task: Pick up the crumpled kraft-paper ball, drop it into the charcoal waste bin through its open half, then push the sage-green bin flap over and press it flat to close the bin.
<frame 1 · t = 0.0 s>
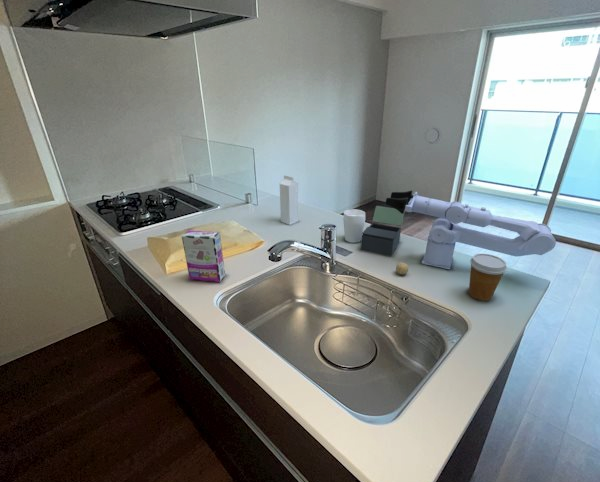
hand: (388, 197, 116), 22 cm above the worktop, tool horizontal, fingers open, 7 cm apart
cup: (352, 239, 136), on the worktop
paper ball: (402, 268, 109), point 2 cm above the worktop
disposable coffee cup: (479, 295, 98), on the worktop
bin: (380, 246, 130), on the worktop
candy bar box: (207, 278, 109), on the worktop
milk: (289, 222, 155), on the worktop
bin flap: (388, 215, 133), point 10 cm above the worktop, hinge at 125.0°
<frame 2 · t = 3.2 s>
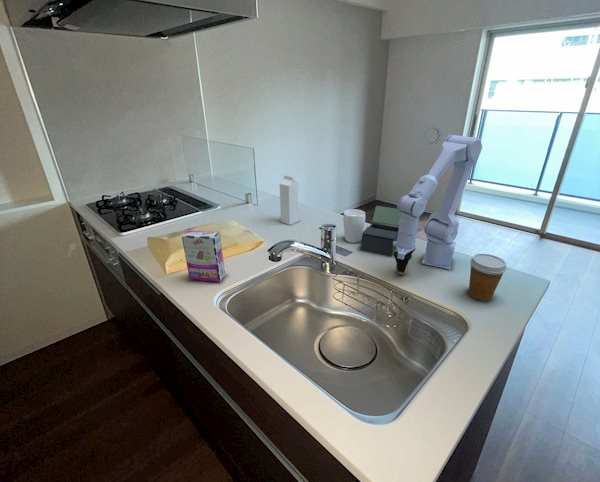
hand: (402, 268, 109), 2 cm above the worktop, tool pointing down, fingers closed on paper ball, 4 cm apart
paper ball: (402, 268, 109), point 2 cm above the worktop, touching gripper
everything else where it was.
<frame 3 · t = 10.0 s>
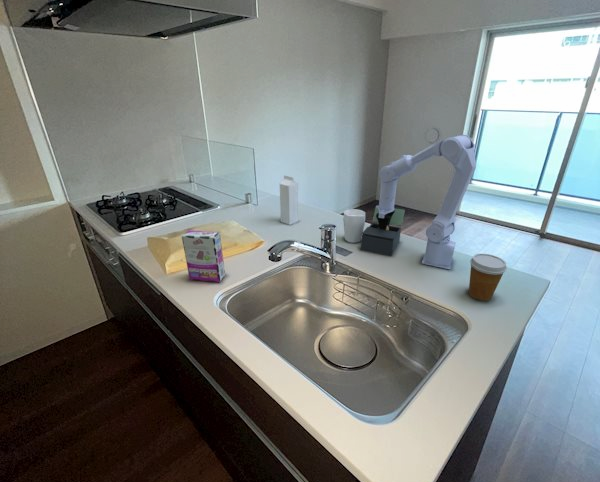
hand: (383, 229, 129), 6 cm above the worktop, tool pointing down, fingers closed on paper ball, 4 cm apart
paper ball: (383, 229, 129), point 6 cm above the worktop, touching gripper
everything else where it was.
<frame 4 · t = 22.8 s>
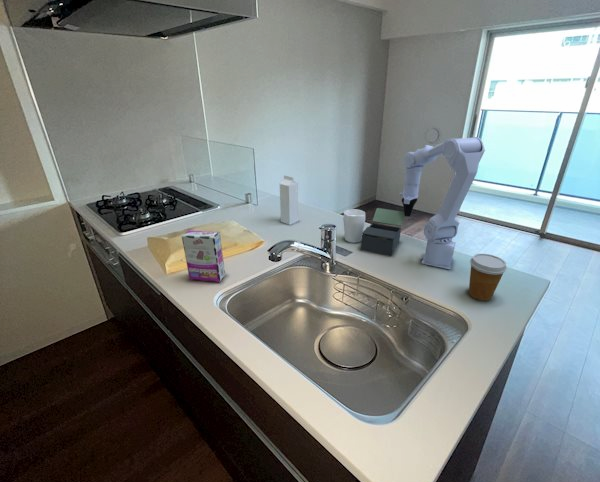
hand: (407, 215, 131), 10 cm above the worktop, tool pointing down, fingers closed, pressing on bin flap
paper ball: (382, 237, 131), point 2 cm above the worktop, tilted 10°, touching bin
bin flap: (388, 216, 134), point 9 cm above the worktop, hinge at 143.6°, touching gripper
everything else where it was.
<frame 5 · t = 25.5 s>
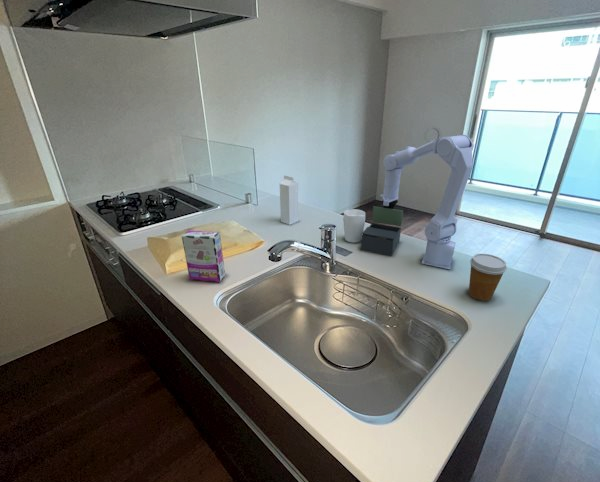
hand: (388, 217, 133), 9 cm above the worktop, tool pointing down, fingers closed
paper ball: (381, 237, 132), point 2 cm above the worktop, tilted 18°, touching bin
bin flap: (387, 216, 130), point 11 cm above the worktop, hinge at 84.4°, touching gripper
everything else where it was.
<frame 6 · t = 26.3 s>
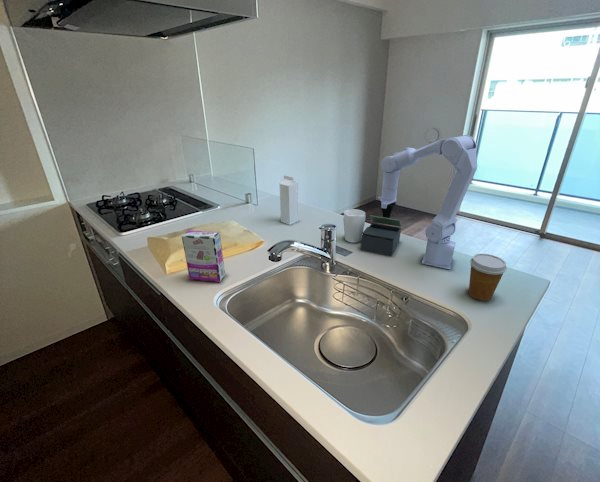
hand: (386, 220, 130), 9 cm above the worktop, tool pointing down, fingers closed
bin flap: (385, 220, 129), point 9 cm above the worktop, hinge at 40.3°, touching gripper
everything else where it was.
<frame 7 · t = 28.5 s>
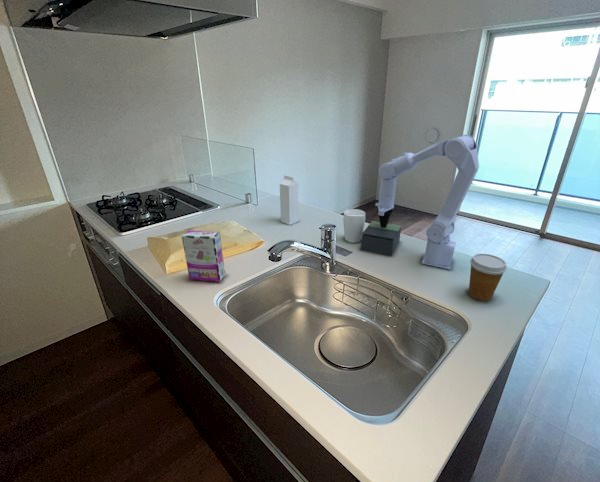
hand: (383, 226, 128), 8 cm above the worktop, tool pointing down, fingers closed, pressing on bin flap
paper ball: (381, 236, 132), point 2 cm above the worktop, tilted 28°, touching bin
bin flap: (384, 226, 129), point 7 cm above the worktop, hinge at 2.5°, touching gripper
everything else where it was.
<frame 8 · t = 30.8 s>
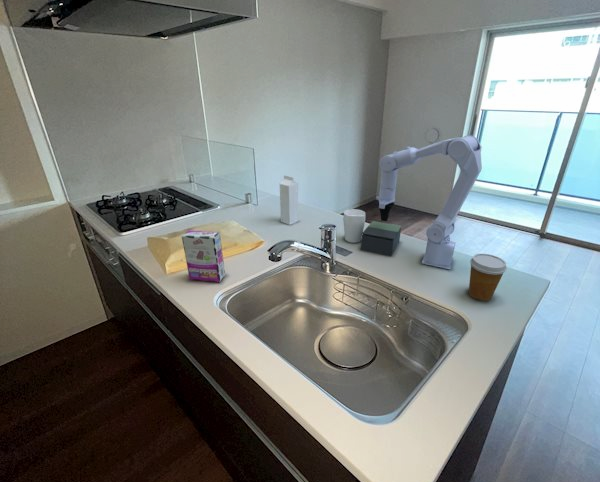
hand: (384, 220, 127), 10 cm above the worktop, tool pointing down, fingers closed
paper ball: (380, 236, 132), point 2 cm above the worktop, tilted 35°, touching bin
bin flap: (384, 226, 129), point 7 cm above the worktop, hinge at -0.4°
everything else where it was.
at the end: paper ball inside the target area in the bin (3.9 cm from its centre), point 2.5 cm above the bin's base; bin flap at +0° (first picture: +125°); the gripper is holding nothing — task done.
